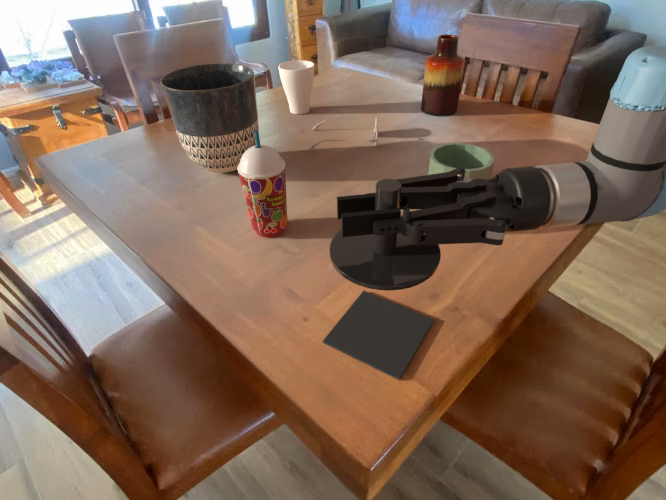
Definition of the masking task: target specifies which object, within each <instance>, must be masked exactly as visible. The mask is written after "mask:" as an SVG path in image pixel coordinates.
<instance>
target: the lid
mask: <svg viewBox="0 0 666 500" xmlns="http://www.w3.org/2000/svg"><path fill="white" fill-rule="evenodd" d="M375 193H376V195H375V210H384V209H394V208H400V198H401V183H400V182H399V181H397V180H396V179H395V178H382V179H379V180H378V181H377V182H376V183H375ZM425 234H426V233H423V235H425ZM328 252H329V260H330V262H331V264H332V267H333V268H334V269H335V271H336V272H337V273H338V274H339V275H340V276H341V277H343V278H344V279H345V280H347V281H349V282H350V283H353V284H355V285H357V286H360V287H363V288H367V289H370V290H377V291H388V292H389V291H399V290H405V289H410V288H414V287H416V286H419V285H421V284H422V283H425V282H426V281H427V280H429V279H430V278H431V277H432V276H434V274H435V273H436V272H437V270H438V268H439V267H440V263H441V259H442V258H441V257H442V253H441V248H440V244H438V245H413V244H412V243H411V238H410V237H409V236H404V235H402V234H401V233H398V234H389V235H388V234H387V235H374V234H370V235H360V236H350V237H342V228H340V229H339V230H338V231H337V232H336V234H335V235H334V236H333V238H332V239H331V241H330V244H329V251H328Z"/></svg>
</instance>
